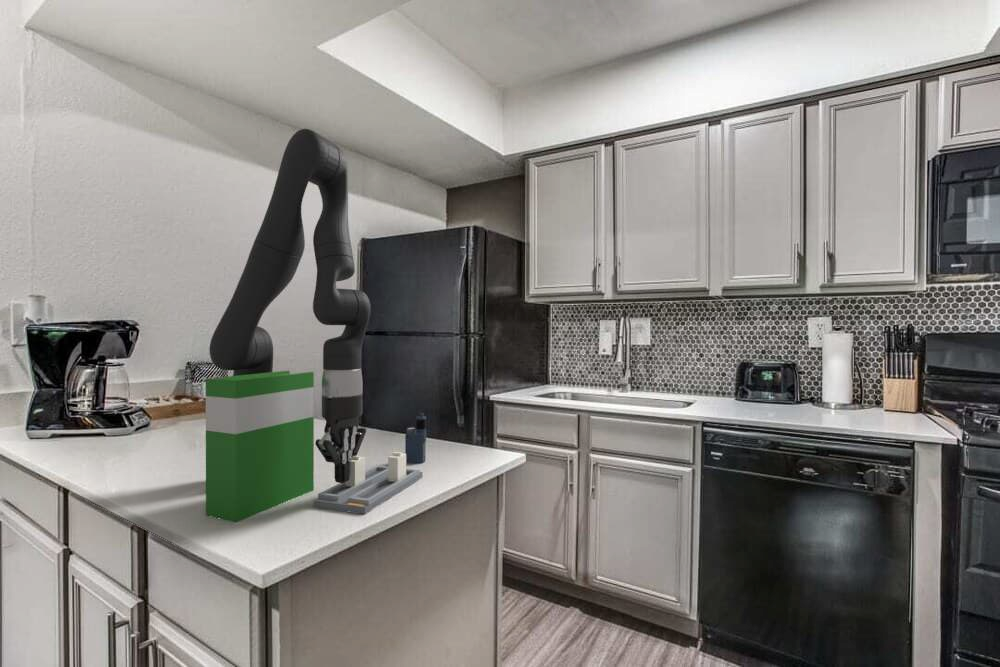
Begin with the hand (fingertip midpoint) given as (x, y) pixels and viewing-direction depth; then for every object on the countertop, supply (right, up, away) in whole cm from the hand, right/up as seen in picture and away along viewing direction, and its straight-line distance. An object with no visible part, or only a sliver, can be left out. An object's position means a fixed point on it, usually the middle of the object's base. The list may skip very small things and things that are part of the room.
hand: (342, 481), depth 94 cm
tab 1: (+1, -2, +4) cm, 5 cm away
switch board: (+5, -3, +4) cm, 7 cm away
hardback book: (-14, -3, -2) cm, 15 cm away
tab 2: (+9, -2, +7) cm, 12 cm away
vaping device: (+10, -3, +26) cm, 28 cm away
